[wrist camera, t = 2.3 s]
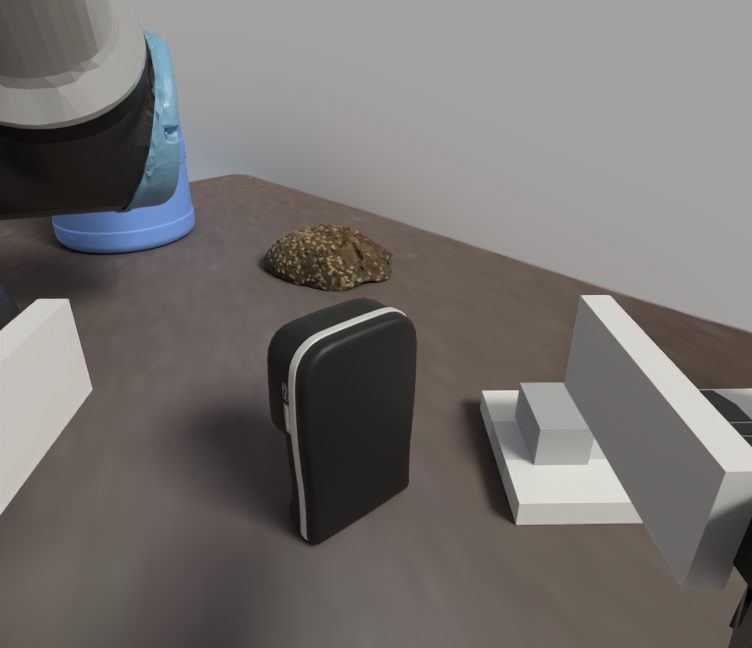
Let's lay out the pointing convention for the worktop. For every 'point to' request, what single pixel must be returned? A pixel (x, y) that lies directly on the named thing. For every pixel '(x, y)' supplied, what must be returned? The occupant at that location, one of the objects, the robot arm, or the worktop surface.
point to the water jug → (131, 222)
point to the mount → (558, 457)
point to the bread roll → (328, 258)
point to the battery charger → (344, 410)
